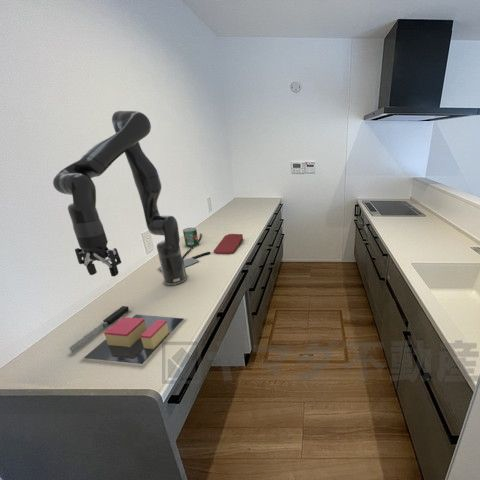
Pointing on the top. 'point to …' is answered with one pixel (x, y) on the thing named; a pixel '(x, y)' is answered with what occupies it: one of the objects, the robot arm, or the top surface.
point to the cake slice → (154, 334)
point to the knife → (100, 327)
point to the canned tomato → (190, 237)
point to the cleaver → (191, 260)
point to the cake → (125, 332)
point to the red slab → (228, 244)
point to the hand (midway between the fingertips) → (104, 274)
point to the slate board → (136, 350)
